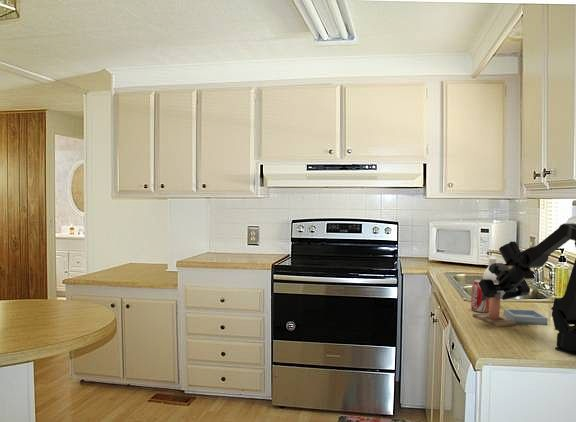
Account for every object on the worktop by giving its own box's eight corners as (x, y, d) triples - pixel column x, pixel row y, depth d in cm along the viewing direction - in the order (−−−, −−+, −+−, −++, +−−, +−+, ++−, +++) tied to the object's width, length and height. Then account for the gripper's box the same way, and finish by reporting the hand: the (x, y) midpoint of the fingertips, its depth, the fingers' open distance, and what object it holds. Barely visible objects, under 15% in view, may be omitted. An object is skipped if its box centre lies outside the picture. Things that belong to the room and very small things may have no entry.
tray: (547, 324, 189) (547, 318, 189) (514, 323, 190) (515, 316, 190) (534, 316, 201) (534, 310, 200) (503, 315, 201) (503, 308, 201)
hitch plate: (516, 325, 187) (516, 322, 187) (497, 326, 185) (497, 323, 184) (489, 315, 200) (490, 312, 200) (472, 316, 198) (472, 313, 198)
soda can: (467, 309, 209) (468, 279, 209) (481, 308, 212) (482, 278, 211) (479, 313, 203) (480, 283, 202) (493, 312, 205) (495, 282, 205)
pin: (500, 321, 192) (502, 292, 191) (495, 322, 190) (497, 293, 189) (492, 319, 195) (493, 290, 194) (486, 320, 193) (488, 291, 192)
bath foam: (478, 303, 220) (481, 256, 218) (495, 304, 220) (497, 257, 218) (484, 307, 213) (487, 259, 211) (501, 308, 213) (504, 259, 211)
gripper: (526, 256, 190) (503, 280, 201) (483, 257, 184) (462, 281, 195) (541, 282, 183) (516, 305, 194) (497, 283, 177) (474, 307, 188)
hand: (492, 299), depth 193 cm, fingers open, 9 cm apart
